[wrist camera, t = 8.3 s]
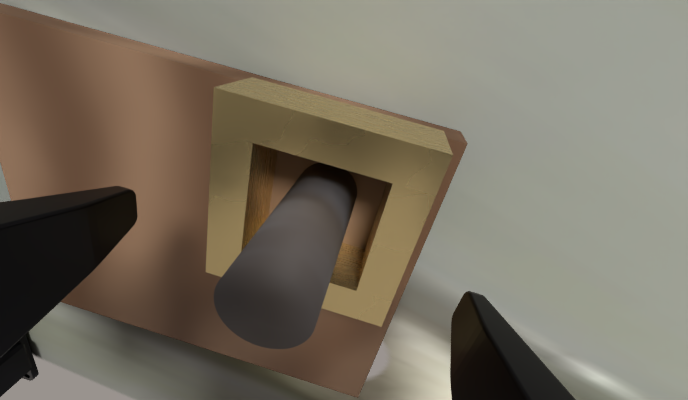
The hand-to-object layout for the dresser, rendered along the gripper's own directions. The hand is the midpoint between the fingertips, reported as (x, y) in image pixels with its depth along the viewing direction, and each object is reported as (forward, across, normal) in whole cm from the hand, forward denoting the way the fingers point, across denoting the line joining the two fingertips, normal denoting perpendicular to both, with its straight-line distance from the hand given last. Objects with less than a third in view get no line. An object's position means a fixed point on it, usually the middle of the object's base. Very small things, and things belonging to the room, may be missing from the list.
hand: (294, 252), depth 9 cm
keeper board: (+5, +5, +4) cm, 8 cm away
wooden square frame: (+4, 0, 0) cm, 4 cm away
